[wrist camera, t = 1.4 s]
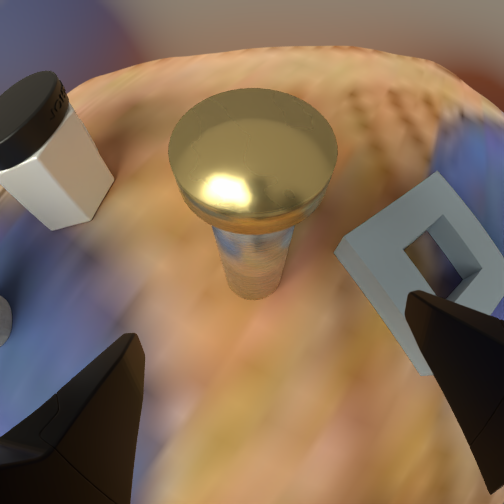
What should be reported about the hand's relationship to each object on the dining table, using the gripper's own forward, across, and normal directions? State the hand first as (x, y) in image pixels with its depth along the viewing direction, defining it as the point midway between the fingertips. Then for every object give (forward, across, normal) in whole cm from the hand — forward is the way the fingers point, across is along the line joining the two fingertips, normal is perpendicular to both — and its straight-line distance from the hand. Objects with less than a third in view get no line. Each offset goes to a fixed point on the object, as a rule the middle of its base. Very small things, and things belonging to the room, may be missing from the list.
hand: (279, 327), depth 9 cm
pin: (+13, 0, +5) cm, 13 cm away
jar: (+20, +16, -2) cm, 26 cm away
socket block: (+11, -14, +6) cm, 19 cm away
